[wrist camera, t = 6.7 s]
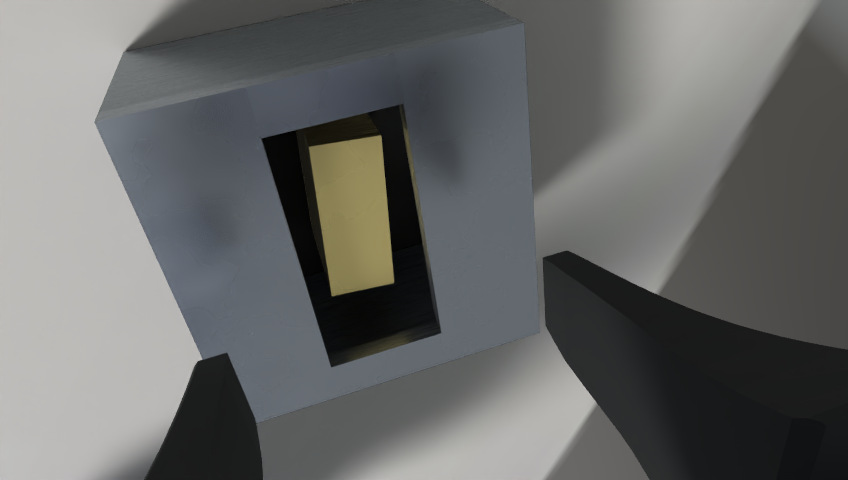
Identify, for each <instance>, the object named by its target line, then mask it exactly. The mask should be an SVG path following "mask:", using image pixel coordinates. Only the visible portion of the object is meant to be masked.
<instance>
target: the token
mask: <svg viewBox="0 0 848 480" xmlns="http://www.w3.org/2000/svg"><path fill="white" fill-rule="evenodd" d="M296 135H297V141H298V148H299V154H300V160H301V166H302V172H303V178H304V184H305V190H306V196H307V202H308V208H309V215H310V221H311V227H312V230H313V234H314V237H315V241H316V244H317V247H318V251H319V254H320V258H321V261H322V264H323V268H324V271H325V275H326V278H327V282H328V285H329V288H330V292H331V295H332V296H336V295H340V294H345V293H350V292H354V291H359V290H364V289H369V288H373V287H378V286H383V285H387V284H392V283H394V274H393V263H392V251H391V240H390V228H389V217H388V206H387V194H386V183H385V172H384V160H383V149H382V137H381V134H380V133H379V131H378V129H377V128H376V126H375V125H374V123H373V122H372V120H371V119H370V117H369V115H368V114H367V113H363V114H359V115H355V116H351V117H347V118H343V119H338V120H334V121H330V122H326V123H322V124H318V125H314V126H310V127H306V128H302V129H298V130H296Z"/></svg>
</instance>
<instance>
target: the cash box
mask: <svg viewBox="0 0 848 480" xmlns="http://www.w3.org/2000/svg"><path fill="white" fill-rule="evenodd" d="M396 105H399V108H400V114H401V120H402V126H403V131H404V137H405V143H406V149H407V155H408V161H409V167H410V173H411V179H412V185H413V190H414V196H415V202H416V208H417V214H418V220H419V226H420V232H421V238H422V244H420V245H416V246H413V247H409V248H406V249H402V250H399V251H395V252H392V263H393V274H394V283H392V284H387V285H383V286H378V287H373V288H369V289H364V290H359V291H354V292H350V293H345V294H340V295H336V296H332V295H331V292H330V288H329V285H328V282H327V278H326V275H325V272H321V273H318V274H314V275H311V276H307V277H304V275H303V271H302V268H301V265H300V262H299V258H298V255H297V252H296V249H295V245H294V242H293V239H292V235H291V232H290V229H289V226H288V222H287V219H286V216H285V212H284V209H283V206H282V203H281V199H280V196H279V193H278V190H277V186H276V183H275V180H274V176H273V173H272V170H271V167H270V163H269V160H268V157H267V153H266V150H265V147H264V144H263V140H262V138H265V137H269V136H273V135H277V134H281V133H285V132H289V131H294V130H298V129H302V128H306V127H310V126H314V125H318V124H322V123H326V122H330V121H334V120H338V119H343V118H347V117H351V116H355V115H359V114H363V113H367V112H371V111H375V110H379V109H383V108H387V107H392V106H396ZM95 124H96V127H97V129H98V131H99V133H100V135H101V137H102V140H103V142H104V144H105V146H106V148H107V151H108V153H109V155H110V157H111V159H112V162H113V164H114V166H115V168H116V170H117V172H118V175H119V177H120V179H121V181H122V183H123V186H124V188H125V190H126V192H127V194H128V197H129V199H130V201H131V203H132V205H133V207H134V210H135V212H136V214H137V216H138V218H139V221H140V223H141V225H142V227H143V229H144V232H145V234H146V236H147V238H148V240H149V242H150V245H151V247H152V249H153V251H154V253H155V256H156V258H157V260H158V262H159V264H160V267H161V269H162V271H163V273H164V275H165V277H166V280H167V282H168V284H169V286H170V288H171V291H172V293H173V295H174V297H175V299H176V302H177V304H178V306H179V308H180V310H181V313H182V315H183V317H184V319H185V321H186V323H187V326H188V328H189V330H190V332H191V334H192V337H193V339H194V341H195V343H196V345H197V348H198V350H199V352H200V354H201V356H202V358H203V360H204V359H207V358H210V357H214V356H217V355H220V354H224V353H228V356H229V358H230V360H231V363H232V365H233V367H234V370H235V372H236V374H237V377H238V379H239V381H240V384H241V386H242V389H243V391H244V393H245V396H246V398H247V400H248V403H249V405H250V407H251V410H252V412H253V414H254V417H255V420H256V423H259V422H262V421H265V420H268V419H271V418H274V417H278V416H281V415H284V414H287V413H290V412H293V411H296V410H299V409H303V408H306V407H309V406H312V405H315V404H318V403H321V402H324V401H327V400H331V399H334V398H337V397H340V396H343V395H346V394H349V393H352V392H355V391H359V390H362V389H365V388H368V387H371V386H374V385H377V384H380V383H384V382H387V381H390V380H393V379H396V378H399V377H402V376H405V375H408V374H412V373H415V372H418V371H421V370H424V369H427V368H430V367H433V366H436V365H440V364H443V363H446V362H449V361H452V360H455V359H458V358H461V357H465V356H468V355H471V354H474V353H477V352H480V351H483V350H486V349H489V348H493V347H496V346H499V345H502V344H505V343H508V342H511V341H514V340H517V339H521V338H524V337H527V336H530V335H533V334H536V333H539V332H540V327H539V307H538V287H537V268H536V248H535V228H534V208H533V188H532V169H531V149H530V129H529V109H528V89H527V69H526V50H525V30H524V23H523V22H521V21H519V20H517V19H515V18H513V17H511V16H509V15H507V14H505V13H503V12H501V11H500V10H498V9H496V8H494V7H492V6H490V5H488V4H486V3H484V2H482V1H480V0H364V1H359V2H355V3H350V4H345V5H341V6H336V7H331V8H327V9H322V10H317V11H313V12H308V13H303V14H299V15H294V16H289V17H284V18H280V19H275V20H270V21H266V22H261V23H256V24H252V25H247V26H242V27H238V28H233V29H228V30H224V31H219V32H214V33H210V34H205V35H200V36H196V37H191V38H186V39H182V40H177V41H172V42H167V43H163V44H158V45H153V46H149V47H144V48H139V49H135V50H130V51H125V52H123V55H122V57H121V60H120V62H119V64H118V67H117V69H116V71H115V74H114V76H113V79H112V81H111V83H110V86H109V88H108V91H107V93H106V95H105V98H104V100H103V103H102V105H101V107H100V110H99V112H98V115H97V117H96V119H95Z"/></svg>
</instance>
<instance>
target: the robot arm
mask: <svg viewBox="0 0 848 480" xmlns="http://www.w3.org/2000/svg"><path fill="white" fill-rule="evenodd" d="M543 276H544V298H545V321H546V327H547V329H548V331H549V333H550V334H551V336H552V338H553V340H554V342H555V344H556V345H557V347H558V349H559V351H560V352H561V354H562V356H563V357H564V359H565V361H566V362H567V364H568V365H569V366H570V368H571V369H572V370H573V372H574V373H575V374H576V376H577V377H578V378H579V380H580V381H581V382H582V384H583V385H584V386H585V388H586V389H587V390H588V392H589V393H590V394H591V396H592V397H593V398H594V400H595V401H596V402H597V404H598V405H599V406H600V407H601V409H602V410H603V411H604V413H605V414H606V415H607V416H608V418H609V419H610V421H611V422H612V423H613V425H614V426H615V427H616V428H617V430H618V431H619V432H620V433H621V435H622V437H623V438H624V439H625V441H626V442H627V444H628V445H629V447H630V448H631V450H632V451H633V453H634V454H635V456H636V458H637V459H638V461H639V462H640V464H641V466H642V468H643V469H644V471H645V472H646V474H647V476H648V478H649V479H650V480H848V350H846V349H840V348H834V347H829V346H823V345H818V344H813V343H808V342H803V341H798V340H794V339H789V338H785V337H780V336H777V335H773V334H769V333H765V332H761V331H757V330H754V329H750V328H747V327H743V326H740V325H736V324H733V323H730V322H727V321H724V320H721V319H718V318H715V317H712V316H709V315H706V314H703V313H701V312H698V311H695V310H693V309H690V308H687V307H685V306H683V305H680V304H678V303H675V302H673V301H671V300H668V299H666V298H663V297H661V296H659V295H657V294H655V293H652V292H650V291H648V290H646V289H644V288H641V287H639V286H637V285H635V284H633V283H631V282H629V281H627V280H625V279H623V278H621V277H619V276H617V275H615V274H613V273H611V272H609V271H607V270H605V269H603V268H601V267H599V266H597V265H595V264H593V263H592V262H590V261H588V260H586V259H584V258H582V257H580V256H578V255H576V254H574V253H572V252H569V251H563V252H560V253H557V254H553V255H550V256H547V257H544V258H543ZM144 480H263V471H262V458H261V451H260V445H259V438H258V432H257V426H256V420H255V417H254V414H253V412H252V410H251V407H250V405H249V403H248V400H247V398H246V396H245V393H244V391H243V389H242V386H241V384H240V381H239V379H238V377H237V374H236V372H235V370H234V367H233V365H232V363H231V360H230V358H229V356H228V353H224V354H220V355H217V356H214V357H210V358H207V359H204V360H200V361H198V362H197V363H196V365H195V367H194V369H193V372H192V375H191V377H190V380H189V383H188V385H187V388H186V390H185V393H184V396H183V398H182V401H181V403H180V405H179V408H178V410H177V413H176V415H175V417H174V419H173V422H172V424H171V426H170V428H169V431H168V433H167V435H166V437H165V439H164V442H163V444H162V446H161V448H160V450H159V452H158V454H157V456H156V458H155V460H154V462H153V464H152V466H151V467H150V469H149V471H148V473H147V475H146V477H145V479H144Z"/></svg>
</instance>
